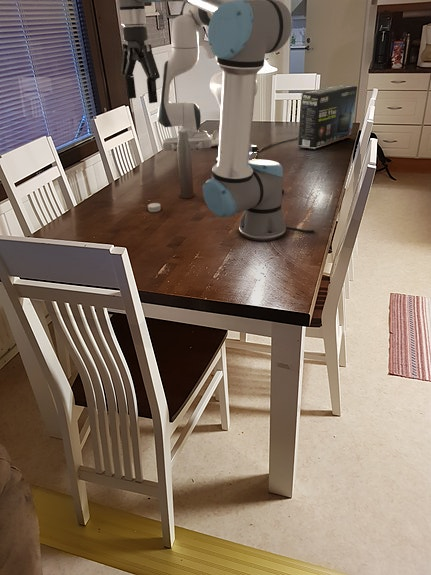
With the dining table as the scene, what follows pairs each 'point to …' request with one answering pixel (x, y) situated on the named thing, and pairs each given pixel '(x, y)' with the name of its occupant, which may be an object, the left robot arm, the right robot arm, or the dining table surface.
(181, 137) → the bottle
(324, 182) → the dining table surface
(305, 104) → the router box
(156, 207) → the cap
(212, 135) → the fossil
